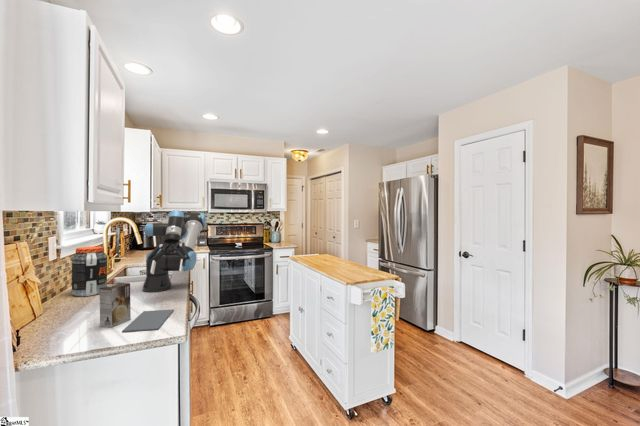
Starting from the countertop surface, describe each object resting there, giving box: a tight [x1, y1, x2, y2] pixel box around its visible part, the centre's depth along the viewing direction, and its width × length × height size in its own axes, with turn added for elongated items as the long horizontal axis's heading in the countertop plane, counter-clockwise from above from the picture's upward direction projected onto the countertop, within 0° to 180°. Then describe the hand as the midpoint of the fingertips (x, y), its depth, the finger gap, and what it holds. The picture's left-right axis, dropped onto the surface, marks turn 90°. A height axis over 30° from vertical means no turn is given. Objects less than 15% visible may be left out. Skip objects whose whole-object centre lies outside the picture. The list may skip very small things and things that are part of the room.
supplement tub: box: [71, 245, 108, 297], centre depth 163 cm, size 16×16×26 cm
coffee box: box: [99, 282, 132, 328], centre depth 122 cm, size 9×6×16 cm
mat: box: [121, 308, 175, 333], centre depth 125 cm, size 22×13×1 cm, turn 12°
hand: (166, 272), depth 147 cm, fingers open, 13 cm apart
